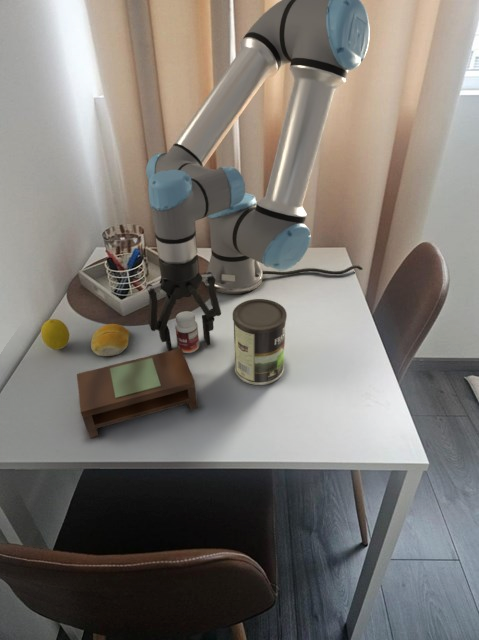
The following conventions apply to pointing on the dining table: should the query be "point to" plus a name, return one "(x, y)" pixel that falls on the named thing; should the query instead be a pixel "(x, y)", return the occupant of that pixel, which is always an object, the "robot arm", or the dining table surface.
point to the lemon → (55, 334)
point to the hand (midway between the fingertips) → (188, 346)
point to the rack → (135, 389)
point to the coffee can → (259, 341)
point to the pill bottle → (187, 332)
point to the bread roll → (110, 340)
